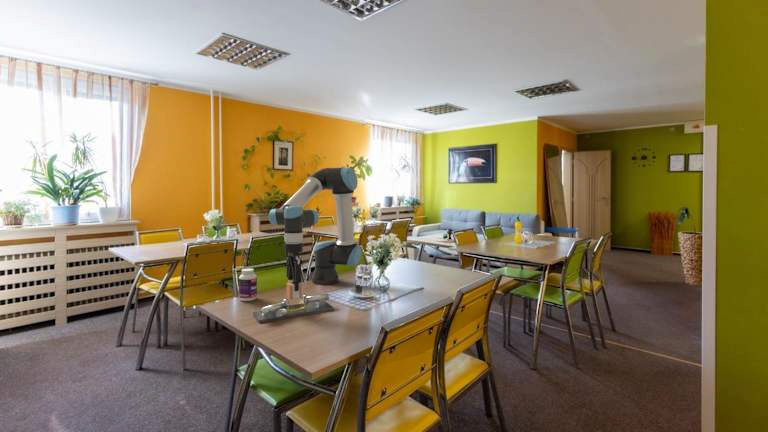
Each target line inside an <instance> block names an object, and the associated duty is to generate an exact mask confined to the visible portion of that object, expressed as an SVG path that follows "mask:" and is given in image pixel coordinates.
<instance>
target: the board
mask: <svg viewBox="0 0 768 432" xmlns="http://www.w3.org/2000/svg"><path fill="white" fill-rule="evenodd" d="M289 305H290V307H289V308H288V307H287V310H286V311H284V310H283V309H281V310H278V311H277V317H276V318H273V319H268V318H265V317H264V315H262V314H261V312H260V310H258V311H257V310H256V311H253V312H252V316H253V318H255V320H256V322H257V323H258V322H259V323H258V324H263V323H268V322H274V321H280V320H284V319H291V318H296V317H302V316H308V315H312V314H313V315H314V314H317V313H324V312H325V313H326V312H330V311H334V309H335V307H334V306H333V305H331V304H330V303H328V302H327V301H325V306H323V307H318V306H317V305H316V304H315V302H313V303H307V306H306V303H305V302H303V301H302V298H298V302H297V303H291V304H290V303H289Z"/></svg>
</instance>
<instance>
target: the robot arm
mask: <svg viewBox="0 0 768 432" xmlns="http://www.w3.org/2000/svg"><path fill="white" fill-rule="evenodd" d="M358 182H359V181H358V176H357V174H356V172H355V170H354V169H353V168H351V167H325V168H321V169H319V170H318V171H315V172H314V173H312V174H311V175H310V176H308V178H307V179H306V180H305V183H304V184H303V185H302V186H301V187H300V188H299V189H298V190H296V192H295V193H294V194H293V195H292V196H291V197H290V198H289V199H288V200H287V201H286V202H285V203H283V205H281V207H279V208H273V209H272V208H271V209H270V210H269V213H268V220H269V223H270V224H271V225H273V226H278V227H279V226H284V231H283V233H284V235H283V238H284V252H285V253H287V254H286V255H285V258H286V278H287V281H288V282H287V283H290V282H292V287H293V299H292V300H296V299H295V298H298V299H300V298H299V283H302V264H303V263H302V262H303V261H302V258H300V255H299V254H300V253H302V252H303V247H304V246H303V242H304V240H303V239H304V235H303V234H304V231H303V228H305V227H312V226H316V225H317V223H318V222H319V218H320V217H319V214H318V212H317V211H316V210H315V209H303V208H304V207H305V206H306V205H307V203H309V202H310V201H311V200H312V199H313V197H315V196H316V195H317V194H319V193H321V192H322V191H325V190H329V191H330V190H331V195H333V196H334V198H335V211H336V225H337V226H336V227H337V237H338V238H337V240H325V241H319V242H316V244H315V246H314V271H313V273H312V274H313V275H312V277H311V282H312V283H313V284H314V285H322V286H323V285H334V284H337V283H338V282H340V281H339V280H340V278H339V273H338V271H337V266H336V265H338V266H347V267H350V266H351V267H354V266H356V265H358V264H359V262H360V260H361V257H362V253H363V252H362V246H361V245H359V244H358V240H357V239H356V238H355V234H354V233H355V232H354V218H353V217H354V215H353V202H352V195H353V194H354V193H355V190H356V189H357V187H358Z"/></svg>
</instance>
